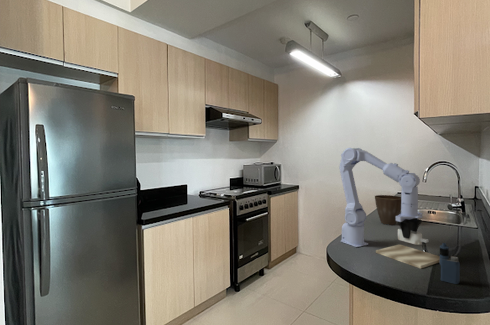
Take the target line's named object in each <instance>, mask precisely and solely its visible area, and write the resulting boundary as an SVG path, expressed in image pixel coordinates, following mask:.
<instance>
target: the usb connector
mask: <svg viewBox="0 0 490 325" xmlns="http://www.w3.org/2000/svg"><path fill="white" fill-rule="evenodd" d="M397 240H399V241H402V242H405V243H409V244H413V245H416V246H417V245H418V246H422V245H423V243H425V244H426V243H429V239H427V238H424V237H423V233H421V232H418V231H417V232H414V231H411V233H410V238H409V239H407V238H404V237H403V234H402V230H401V228H398V229H397Z"/></svg>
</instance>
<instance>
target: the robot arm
mask: <svg viewBox="0 0 490 325" xmlns="http://www.w3.org/2000/svg"><path fill="white" fill-rule="evenodd" d="M340 156H341V159H340V162H339V166H338V168H339V173H340V178H341V183H342V187H343V191H344V197H345V203H346V205H345V208H344V212H345V214H344V220H345V222H344V223H343V224H342V226H341V239H340V243H344V244H346V245H349V246H352V247H354V248H358V247H363V246H367V245H369V243H368V242H365V221H366V219H367V213H366V211H365V210H364V207H363V205H362V204H361V203H360V201H359V200H360V199H359V197H358V196H359V195H358V191H357V187H356V181H355V176H354V173H353V169H354V168H355V166H356V165H357V164H359V163H360V162H366V163H368V164H370V165H372V166H374V167H376V168H378V169H380V170H381V171H382V172H383V175H385V176H386V177H388V178H390V179H391V180H393V181H394V182H396V183H398V184H399V185H400V187H401V195H400V197H401V211H400V214H399V215H398V216H396V221H397V222H396V223H397V224H398V225H399V227H400V228H399V229H401V230H402V234H403V237H404V238H407V239H409V238H410V233H411V231H414V232H418V229H419V227H420V225H421V223H422V222H423V221H422V218H423V212H419V190H418V189H419V187H418V185H420V182H421V180H420V177H419V175H417V174H416V173H415V172H410V170H408V169H405V168H402V167H400V166H399V164H398V163H397V162H396V163H395V162H394V163H393V162H390V163H387V162H385V161H384V160H382V159H380V158H378V157H377V156H376V155H373V154H372V153H371V152H368V151H367V150H363V149H362V148H361V147H358V148H357V147H356V148H355V147H354V148H352V147H347V148H345V149H344V150H343V151H342V153H341V154H340Z"/></svg>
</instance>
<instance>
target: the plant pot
mask: <svg viewBox="0 0 490 325" xmlns="http://www.w3.org/2000/svg"><path fill="white" fill-rule="evenodd" d="M374 199H375V200H374V201H375V206H376V211H377V214H378V218H379V220H380V221H379V222H380V223H381V224H382V223H383V224H382V225H385V224H389V225H388V226H395V225H396V224H397V223H398V222H397V221H396V216H398V215H399V214H401V196H397V195H391V194H390V195H388V194H378V195H374ZM394 224H395V225H394Z"/></svg>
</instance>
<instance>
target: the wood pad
mask: <svg viewBox="0 0 490 325" xmlns="http://www.w3.org/2000/svg"><path fill="white" fill-rule="evenodd" d="M375 253H376V254H378V255H381V256H384V257H386V258H390V259H392V260H395V261H398V262H401V263H404V264H406V265H410V266H412V267H415V268H418V269H424V268H426V267H429V266H433V265H436V264H438V263H439V261H440V258H439V257H440V255H437V254H433V253H430V252H427V251H424V250H420V249H416V248H413V247H410V246H406V245H403V244H396V245H392V246H388V247H384V248H380V249H375ZM439 264H440V263H439Z"/></svg>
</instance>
